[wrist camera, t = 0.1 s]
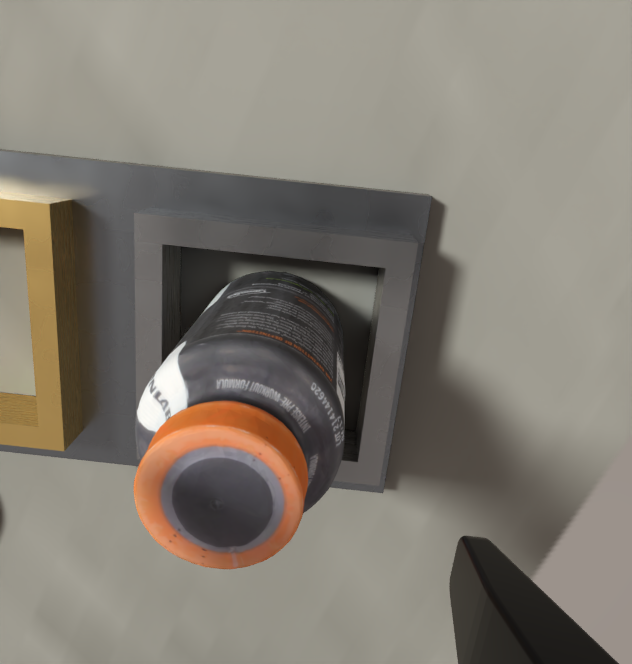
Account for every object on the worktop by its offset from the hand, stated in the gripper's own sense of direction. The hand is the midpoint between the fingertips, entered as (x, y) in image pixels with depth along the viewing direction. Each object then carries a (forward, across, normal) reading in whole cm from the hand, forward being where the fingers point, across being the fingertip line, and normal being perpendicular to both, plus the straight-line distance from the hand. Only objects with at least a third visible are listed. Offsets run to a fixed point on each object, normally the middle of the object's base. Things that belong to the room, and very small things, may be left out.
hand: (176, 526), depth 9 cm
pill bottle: (+15, 0, +2) cm, 15 cm away
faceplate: (+14, +6, +2) cm, 16 cm away
